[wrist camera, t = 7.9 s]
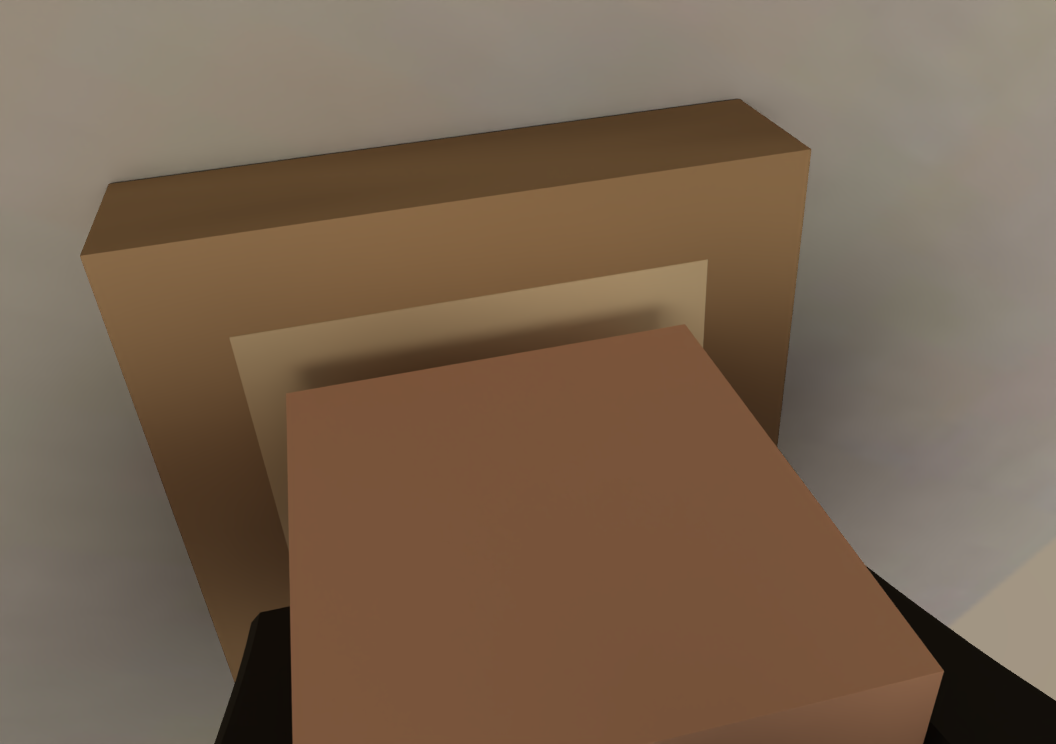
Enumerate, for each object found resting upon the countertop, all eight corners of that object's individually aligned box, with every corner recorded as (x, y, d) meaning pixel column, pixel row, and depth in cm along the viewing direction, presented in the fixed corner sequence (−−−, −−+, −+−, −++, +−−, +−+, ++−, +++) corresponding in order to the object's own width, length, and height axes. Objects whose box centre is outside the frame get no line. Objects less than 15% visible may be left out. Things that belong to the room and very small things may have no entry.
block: (673, 598, 13) (855, 973, 9) (355, 669, 12) (394, 1112, 8) (684, 323, 11) (943, 671, 6) (286, 393, 10) (294, 830, 6)
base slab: (709, 540, 17) (757, 624, 15) (257, 636, 15) (255, 739, 14) (739, 99, 12) (811, 149, 11) (109, 184, 11) (79, 256, 9)
